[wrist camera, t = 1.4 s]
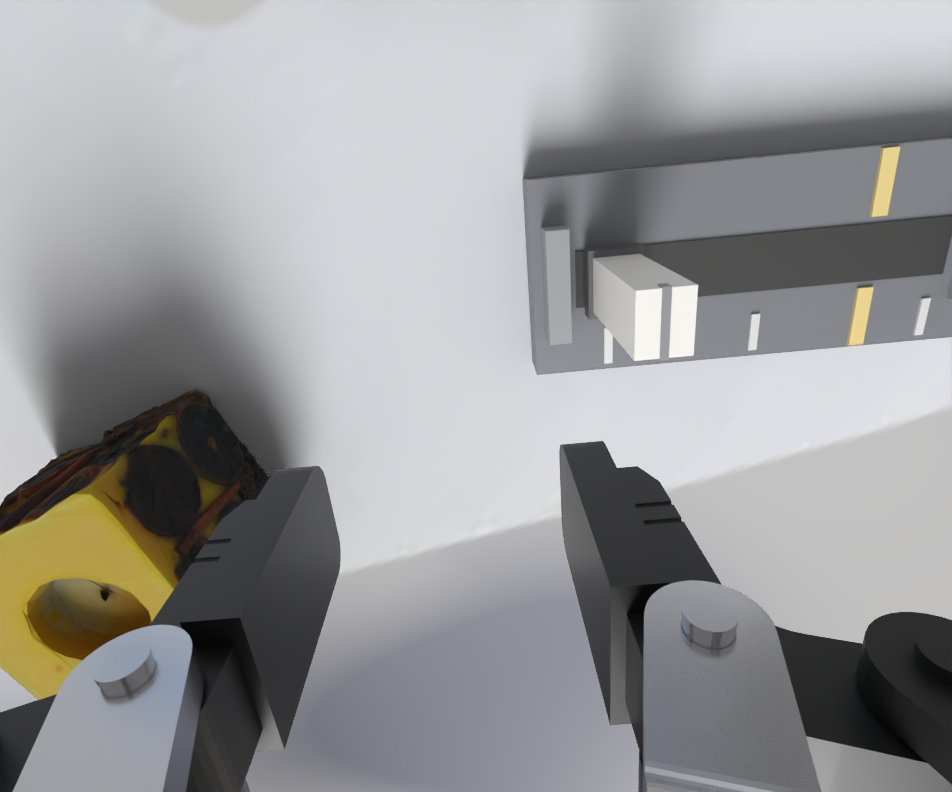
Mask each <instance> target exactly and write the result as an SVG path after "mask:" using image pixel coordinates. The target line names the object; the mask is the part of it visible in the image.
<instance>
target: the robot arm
mask: <svg viewBox="0 0 952 792" xmlns="http://www.w3.org/2000/svg"><path fill="white" fill-rule="evenodd" d="M560 483H561V509H562V528H563V537H564V543H565V550H566V554H567V558H568V562H569V566H570V570H571V574H572V578H573V582H574V586H575V589H576V594H577V597H578V601H579V605H580V609H581V613H582V617H583V621H584V625H585V628H586V632H587V636H588V640H589V644H590V648H591V652H592V656H593V659H594V664H595V668H596V672H597V675H598V679H599V683H600V687H601V691H602V695H603V699H604V703H605V707H606V710H607V714H608V718H609V722H610V725H618V724H630V723H632V727H633V730H634V733H635V737H636V740H637V744H638V747H639V787H638V789H639V791H638V792H952V620H949V619H945V618H943V617H939V616H934V615H929V614H924V613H915V612H899V613H891V614H887V615H884V616H881V617H879V618H877V619H875V620H874V621H873V622H872V623H871V624H870V625H869V626H868V628H867V630H866V632H865V636H864V641H863V644H860V643H855V642H848V641H843V640H836V639H831V638H824V637H818V636H813V635H806V634H802V633H797V632H793V631H789V630H786V629H782V628H780V627H777V626H775V625H774V623H773V622H772V620H771V619H770V617H769V615H768V614H767V613H766V612H765V611H764V610H763V609H762V608H761V607H760V606H759V605H758V604H757V603H756V602H754V601H753V600H752V599H750V598H749V597H747V596H746V595H744V594H742V593H740V592H738V591H736V590H734V589H731V588H729V587H726V586H724V585H722V584H721V583H720V581H719V579H718V578H717V576H716V574H715V573H714V571H713V569H712V568H711V566H710V565H709V563H708V561H707V560H706V558H705V556H704V555H703V553H702V551H701V550H700V548H699V547H698V545H697V543H696V541H695V540H694V538H693V537H692V535H691V533H690V531H689V530H688V528H687V527H686V525H685V523H684V522H682V521H681V517H680V515H679V513H678V512H677V510H676V508H675V507H674V505H672V504H671V500H670V498H669V497H668V495H667V493H666V492H665V490H664V488H663V487H662V485H661V483H660V482H659V481H658V480H656V479H655V478H653V477H652V476H650V475H649V474H648V473H646V472H645V471H643V470H642V469H640V468H639V467H625V468H616V465H615V463H614V461H613V459H612V457H611V455H610V453H609V451H608V449H607V447H606V445H605V443H604V442H603V441H598V442H587V443H576V444H565V445H561V446H560ZM207 542H208V543H207V545H204V546H203V548H202V549H201V550H200V552H199V553H198V555H197V556H196V558H195V563H192V564H191V565H190V567H189V568H188V570H187V571H186V573H185V574H184V575H183V577H182V578H181V580H180V581H179V583H178V584H177V586H176V587H175V589H174V590H173V592H172V593H171V595H170V596H169V597H168V599H167V600H166V602H165V603H164V605H163V606H162V608H161V609H160V611H159V612H158V614H157V615H156V617H155V618H154V620H153V621H152V622H151V624H150V625H149V626H148V627H143V628H139V629H136V630H133V631H130V632H128V633H125V634H123V635H121V636H119V637H117V638H115V639H113V640H111V641H109V642H107V643H106V644H104V645H103V646H101V647H99V648H98V649H96V650H95V651H94V652H92V653H91V654H90V655H88V656H87V657H86V658H85V659H84V660H83V661H81V662H80V663H79V664H78V665H77V666H76V667H75V668H74V669H73V670H72V672H71V673H70V674H69V675H68V676H67V678H66V679H65V680H64V682H63V684H62V685H61V687H60V689H59V691H58V693H57V694H56V695H52V696H49V697H46V698H43V699H40V700H37V701H34V702H31V703H28V704H25V705H22V706H19V707H16V708H13V709H10V710H7V711H4V712H1V713H0V792H250V790H249V786H248V784H247V781H246V775H247V772H248V769H249V766H250V764H251V761H252V758H253V755H254V752H260V751H272V750H284V749H285V746H286V743H287V740H288V736H289V733H290V729H291V727H292V723H293V720H294V717H295V714H296V710H297V707H298V704H299V701H300V697H301V694H302V691H303V688H304V684H305V681H306V678H307V675H308V671H309V668H310V665H311V662H312V658H313V655H314V652H315V649H316V645H317V642H318V638H319V636H320V632H321V629H322V626H323V623H324V619H325V616H326V613H327V610H328V606H329V603H330V600H331V596H332V593H333V590H334V586H335V584H336V580H337V577H338V574H339V569H340V541H339V536H338V531H337V527H336V523H335V518H334V514H333V510H332V505H331V501H330V497H329V492H328V488H327V483H326V479H325V476H324V473H323V471H322V469H321V468H320V467H319V466H312V467H301V468H290V469H279V470H275V471H274V472H273V473H272V474H271V476H270V478H269V479H268V481H267V482H266V484H265V486H264V487H263V489H262V491H261V492H260V494H259V495H258V497H257V499H256V500H246V501H244V502H243V503H242V504H241V505H239V506H238V507H237V508H235V509H234V510H233V511H232V512H230V513H229V514H228V515H227V516H225V517H224V518H223V519H222V520H221V521H220V523H219V524H218V525H217V527H216V528H215V530H214V531H213V533H212V534H211V536H210V537H209V539H208V540H207Z"/></svg>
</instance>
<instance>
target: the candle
mask: <svg viewBox="0 0 952 792" xmlns="http://www.w3.org/2000/svg"><path fill="white" fill-rule="evenodd" d="M268 479H269V478H268V477H267V476H266V475H265V473H264V471H263V470H262V469H261V468H259V467H258V465H257V463H256V461H255V460H254V458H253V457H252V456H251V455H250V454H249V453H248V452H247V449H246V447H245V446H244V445H243V444H241V443H240V441H239V440H238V439H237V438H236V437H235V435H234V434H233V433H232V432H231V431H230V429H229V427H228V426H227V424H226V423H225V421H224V420H223V419H222V417H221V416H220V414H219V413H218V412H217V411H216V410H215V409H214V408H213V407H212V405H211V403H210V400H209V398H208V396H205V395H203V394H201V393H199V392H198V391H196V390H193V391H190V392H187V393H185V394H183V395H181V396H180V397H178V398H176V399H174V400H172V401H169V402H167V403H165V404H163V405H161V406H159V407H153V408H152V410H149V411H146V412H144V413H142V414H140V415H138V416H137V417H135V418H134V419H132V420H129V421H126V422H124V423H122V424H120V425H118V426H116V427H114V430H113V431H105V433H104V439H103V441H102V442H101V443H98V444H95V445H91V446H88V447H85V448H83V449H78V450H71V451H68V452H67V453H65V454H61V455H60V456H59V457H58V458H56V459H54V460H51V461H50V462H49V463H48V464H47V465H46V466H45V468H42V469H41V470H39V472H38V474H37V475H35V476H33V477H32V478H30V479H29V480H27V481H26V482H24V483H23V484H21V485H20V486H18V487H17V488H16V489H15V490H14V491H13V492H12V493H10V494H8V495H7V496H6V497H5V498H4V501H3V502H2V504H1V505H0V667H1V668H2V669H3V670H4V671H5V672H7V673H8V674H9V675H10V676H11V677H12V678H13V679H15V680H16V681H17V682H18V683H19V684H21V685H22V686H23V687H24V688H25V689H26V690H28V691H29V692H30V693H31V694H32V695H34V696H35V697H36V698H37V699H38V700H40V699H43V698H46V697H49V696H52V695H56V694H57V693H58V691H59V689H60V687H61V685H62V684H63V682H64V680H65V679H66V678H67V676H68V675H69V674H70V673H71V672H72V670H73V669H74V668H75V667H76V666H77V665H78V664H79V663H80V662H81V661H83V660H84V659H85V658H86V657H87V656H88V655H90V654H91V653H92V652H94V651H95V650H96V649H98V648H99V647H101V646H103V645H104V644H106V643H107V642H109V641H111V640H113V639H115V638H117V637H119V636H121V635H123V634H125V633H128V632H130V631H133V630H136V629H139V628H143V627H148V626H149V625H150V624H151V622H152V621H153V620H154V618H155V617H156V615H157V614H158V612H159V611H160V609H161V608H162V606H163V605H164V603H165V602H166V600H167V599H168V597H169V596H170V595H171V593H172V592H173V590H174V589H175V587H176V586H177V584H178V583H179V581H180V580H181V578H182V577H183V575H184V574H185V573H186V571H187V570H188V568H189V567H190V565H191V564H192V563H195V558H196V556H197V555H198V553H199V552H200V550H201V549H202V548H203V546H204V545H207V543H208V542H207V540H208V539H209V537H210V536H211V534H212V533H213V531H214V530H215V528H216V527H217V525H218V524H219V523H220V521H221V520H222V519H223V518H224V517H225V516H227V515H228V514H229V513H230V512H232V511H233V510H234V509H235V508H237V507H238V506H239V505H241V504H242V503H243V502H244V501H246V500H256V499H257V497H258V495H259V494H260V492H261V491H262V489H263V487H264V486H265V484H266V482H267V481H268Z"/></svg>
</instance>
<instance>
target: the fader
mask: <svg viewBox="0 0 952 792" xmlns="http://www.w3.org/2000/svg"><path fill="white" fill-rule="evenodd" d="M644 250H645V246H643V245H641V244H639V243H631V244H621V245H610V246H600V247H589V248H584V301H585V315H586V316H587V318H588V319H589V320H590V319H599V320H600V321H601V322H602V323H603V325H604V326H605V327H606V328H607V329H608V330H609V332H610V333H611V334H612V335H613V336H614V338H615V339H616V340H617V341H618V342H619V344H620V345H621V346H622V347H623V348H624V349H625V351H626V352H627V353H628V354H629V355H630V357H631V358H632V359H633V360H634V361H641V360H652V359H659V360H660V361H662V360H669V358H673V357H684V356H694V342H695V327H696V311H697V296H698V285H697V284H696V283H694V282H692V281H690V280H688V279H686V278H684V277H682V276H681V275H679V274H677V273H675V272H673V271H671V270H669V269H668V268H666V267H664V266H662V265H660V264H658V263H656V262H654V261H653V260H651V259H649V258H647V257H645V256H644Z"/></svg>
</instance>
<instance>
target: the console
mask: <svg viewBox="0 0 952 792" xmlns="http://www.w3.org/2000/svg"><path fill="white" fill-rule="evenodd" d="M523 194H524V212H525V230H526V249H527V267H528V286H529V304H530V322H531V341H532V359H533V364H534V367H535V370H536V373H537V375H540V374H551V373H562V372H573V371H584V370H595V369H606V368H617V367H628V366H639V365H650V364H661V363H672V362H682V361H693V360H704V359H715V358H726V357H737V356H748V355H759V354H770V353H781V352H792V351H803V350H814V349H825V348H836V347H847V346H858V345H869V344H880V343H891V342H902V341H912V340H923V339H934V338H945V337H952V137H946V138H936V139H926V140H916V141H905V142H895V143H885V144H875V145H865V146H855V147H844V148H834V149H824V150H814V151H804V152H794V153H783V154H773V155H763V156H753V157H743V158H732V159H722V160H712V161H702V162H692V163H682V164H671V165H661V166H651V167H641V168H631V169H621V170H610V171H600V172H590V173H580V174H570V175H560V176H549V177H539V178H529V179H523ZM631 243H639V244H641V245H643V246H645V250H644V256H645V257H647V258H649V259H651V260H653V261H654V262H656V263H658V264H660V265H662V266H664V267H666V268H668V269H669V270H671V271H673V272H675V273H677V274H679V275H681V276H682V277H684V278H686V279H688V280H690V281H692V282H694V283H696V284H697V285H698V296H697V311H696V327H695V342H694V356H684V357H673V358H669V360H662V361H660V360H659V359H652V360H641V361H634V360H633V359H632V358H631V357H630V355H629V354H628V353H627V352H626V351H625V349H624V348H623V347H622V346H621V345H620V344H619V342H618V341H617V340H616V339H615V338H614V336H613V335H612V334H611V333H610V332H609V330H608V329H607V328H606V327H605V326H604V325H603V323H602V322H601V321H600V320H599V319H590V320H589V319H588V318H587V316H586V315H585V301H584V248H589V247H600V246H610V245H621V244H631Z"/></svg>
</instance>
